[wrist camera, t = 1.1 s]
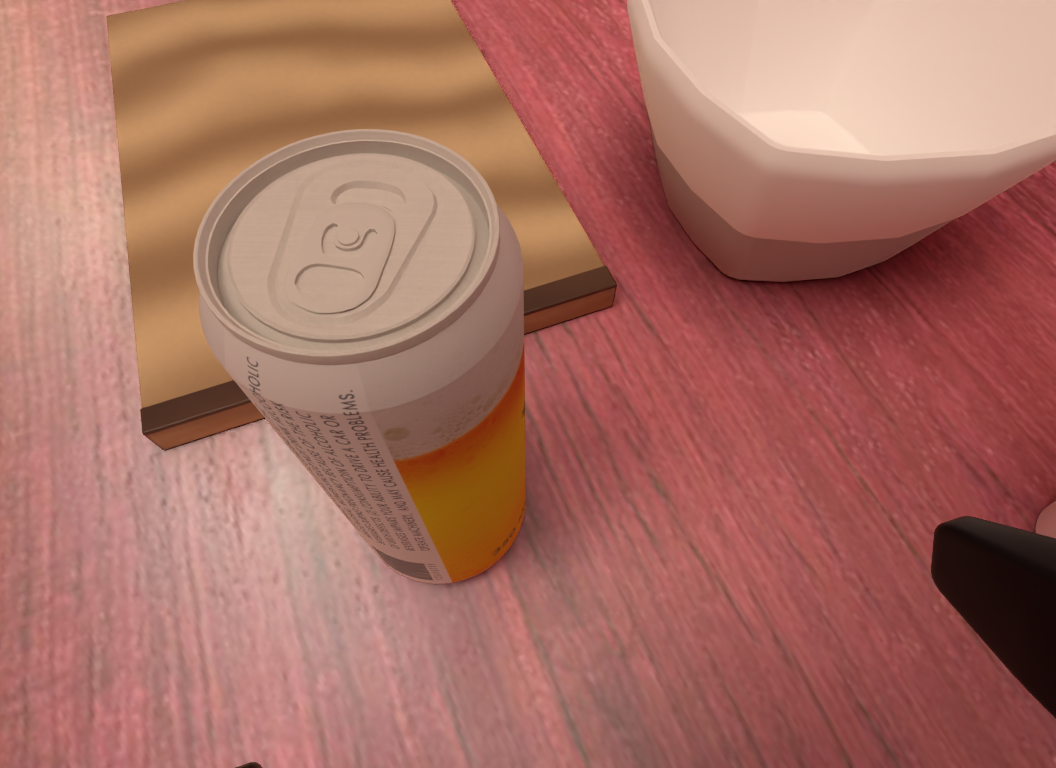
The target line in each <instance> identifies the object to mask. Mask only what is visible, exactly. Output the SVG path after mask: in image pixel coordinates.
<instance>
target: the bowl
mask: <svg viewBox="0 0 1056 768" xmlns="http://www.w3.org/2000/svg"><path fill="white" fill-rule="evenodd" d="M627 11H628V16H629V21H630V27H631V32H632V38H633V43H634V48H635V54H636V59H637V64H638V70H639V75H640V80H641V86H642V91H643V96H644V101H645V105H646V108H647V113H648V118H649V124H650V129H651V135H652V140H653V145H654V151H655V156H656V161H657V167H658V172H659V176H660V179H661V183H662V186H663V190H664V193H665V197H666V200H667V204H668V207H669V209H670V210H671V211H672V213H673V214H674V216H675V217H676V219H677V220H678V221H679V223H680V224H681V226H682V227H683V229H684V230H685V231H686V233H687V234H688V236H689V237H690V239H691V240H692V241H693V243H694V244H695V245H696V246H697V247H698V248H699V249H700V250H701V251H702V252H703V253H704V254H705V255H706V256H707V257H708V259H709V260H710V261H711V262H712V263H713V264H714V265H715V266H716V267H717V268H718V269H719V270H720V271H721V272H723V273H724V274H726V275H727V276H729V277H732V278H736V279H739V280H757V281H775V282H786V281H799V280H811V279H824V278H836V277H840V276H843V275H846V274H849V273H852V272H855V271H858V270H860V269H863V268H866V267H869V266H872V265H875V264H878V263H881V262H884V261H886V260H887V259H889V258H891V257H893V256H894V255H896V254H898V253H900V252H901V251H903V250H905V249H907V248H908V247H910V246H912V245H913V244H915V243H917V242H918V241H920V240H921V239H923V238H925V237H926V236H928V235H929V234H931V233H933V232H934V231H936V230H938V229H939V228H941V227H943V226H944V225H946V224H948V223H950V222H951V221H953V220H955V219H956V218H958V217H961V216H963V215H965V214H967V213H968V212H970V211H972V210H973V209H975V208H977V207H978V206H980V205H982V204H983V203H985V202H987V201H988V200H990V199H992V198H994V197H995V196H997V195H999V194H1000V193H1002V192H1004V191H1005V190H1007V189H1009V188H1010V187H1012V186H1014V185H1015V184H1017V183H1019V182H1020V181H1022V180H1024V179H1026V178H1027V177H1029V176H1031V175H1032V174H1034V173H1036V172H1037V171H1039V170H1041V169H1042V168H1044V167H1046V166H1047V165H1049V164H1051V163H1052V162H1054V161H1056V0H628V3H627Z"/></svg>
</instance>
